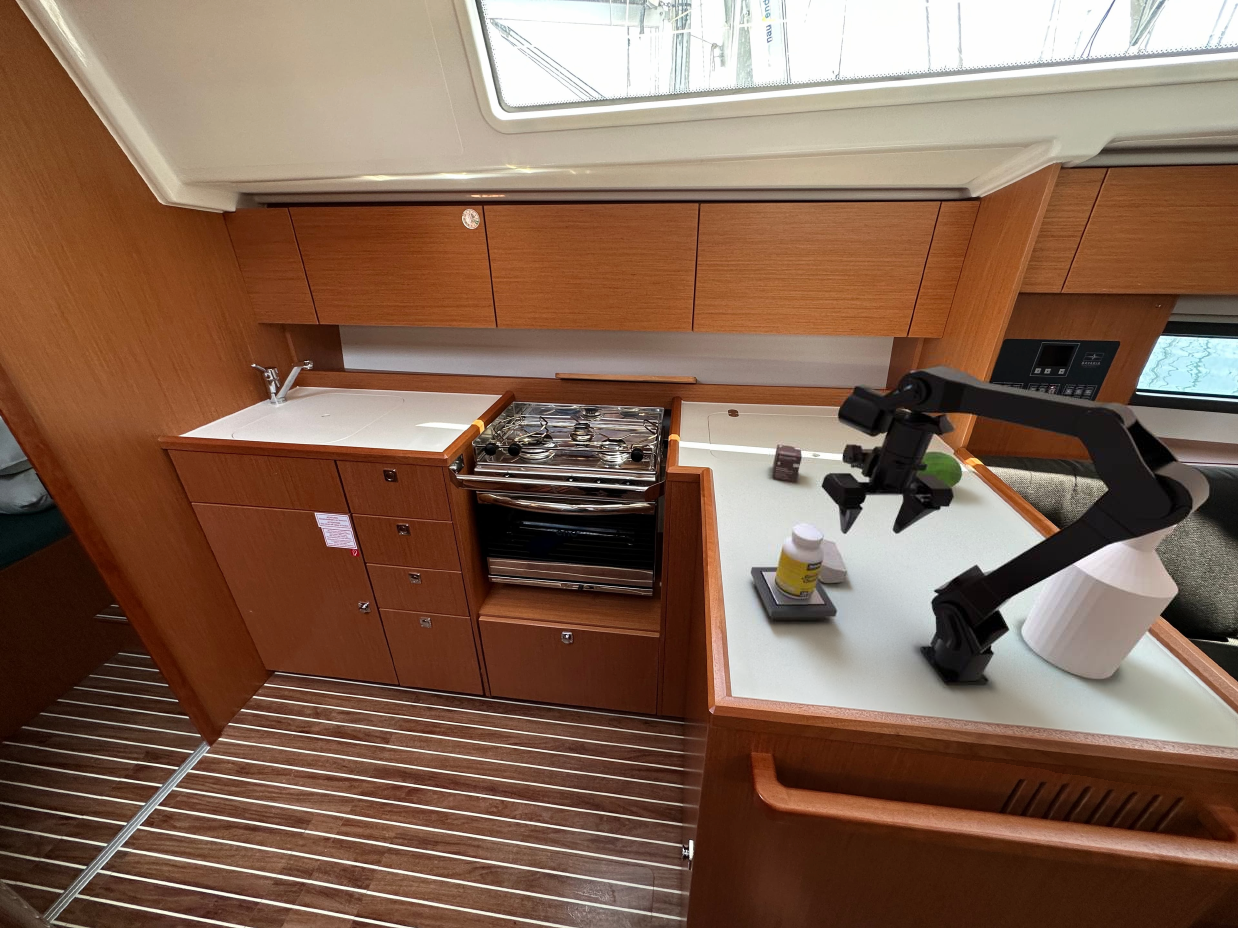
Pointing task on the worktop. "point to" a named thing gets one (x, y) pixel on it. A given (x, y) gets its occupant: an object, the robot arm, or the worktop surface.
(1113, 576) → the bottle
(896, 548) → the worktop surface
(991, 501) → the worktop surface
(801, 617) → the scale
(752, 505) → the worktop surface
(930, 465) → the fruit
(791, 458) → the box
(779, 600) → the pan
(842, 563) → the pale grey rock
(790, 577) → the pill bottle
